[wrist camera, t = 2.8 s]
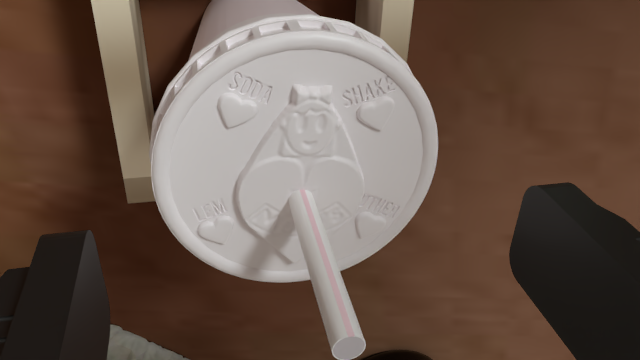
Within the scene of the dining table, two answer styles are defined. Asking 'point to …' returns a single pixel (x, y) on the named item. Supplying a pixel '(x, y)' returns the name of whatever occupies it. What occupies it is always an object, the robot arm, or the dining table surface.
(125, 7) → the rectangular wooden frame
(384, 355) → the supplement bottle
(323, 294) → the smoothie
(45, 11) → the dining table surface
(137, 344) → the ceramic cottage
